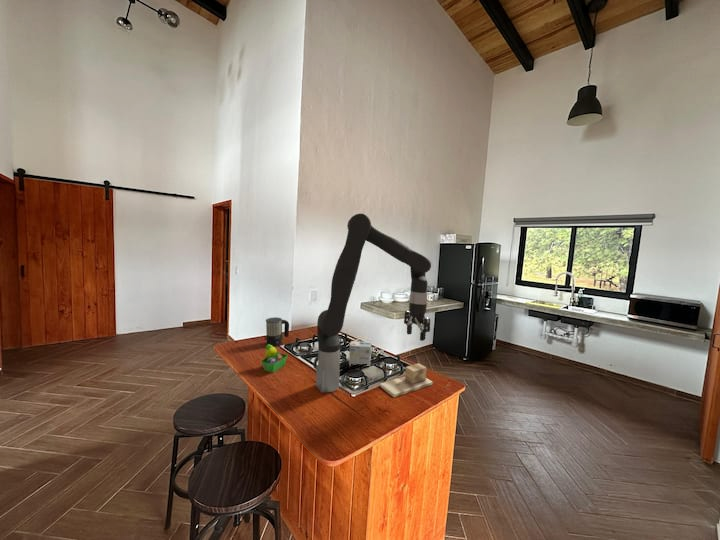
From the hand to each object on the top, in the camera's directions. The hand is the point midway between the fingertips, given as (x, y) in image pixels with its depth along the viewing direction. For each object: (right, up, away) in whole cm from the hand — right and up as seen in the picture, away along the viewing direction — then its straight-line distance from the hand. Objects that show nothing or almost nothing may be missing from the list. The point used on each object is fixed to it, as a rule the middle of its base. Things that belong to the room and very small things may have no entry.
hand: (415, 337), depth 129 cm
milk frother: (-77, -13, +45) cm, 90 cm away
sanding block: (0, -20, +2) cm, 20 cm away
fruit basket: (-67, -18, +12) cm, 70 cm away
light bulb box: (-25, -18, +19) cm, 36 cm away
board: (-4, -21, -1) cm, 22 cm away
